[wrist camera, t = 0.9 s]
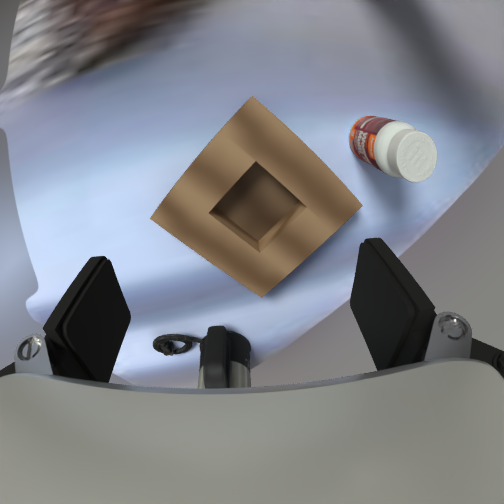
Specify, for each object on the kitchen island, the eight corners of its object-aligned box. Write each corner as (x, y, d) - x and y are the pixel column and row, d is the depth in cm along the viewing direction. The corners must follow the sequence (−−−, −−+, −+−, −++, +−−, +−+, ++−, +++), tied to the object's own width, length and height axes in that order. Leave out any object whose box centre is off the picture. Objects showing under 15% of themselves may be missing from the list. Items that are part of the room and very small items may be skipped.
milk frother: (258, 355, 50) (264, 424, 37) (187, 373, 53) (179, 436, 40) (224, 303, 44) (221, 382, 31) (146, 328, 46) (125, 398, 33)
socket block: (250, 97, 29) (252, 96, 25) (351, 194, 35) (362, 205, 32) (158, 206, 35) (149, 218, 31) (259, 280, 41) (261, 297, 38)
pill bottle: (339, 128, 31) (381, 142, 21) (377, 107, 29) (429, 116, 19) (360, 169, 33) (404, 198, 24) (395, 148, 32) (447, 171, 22)
